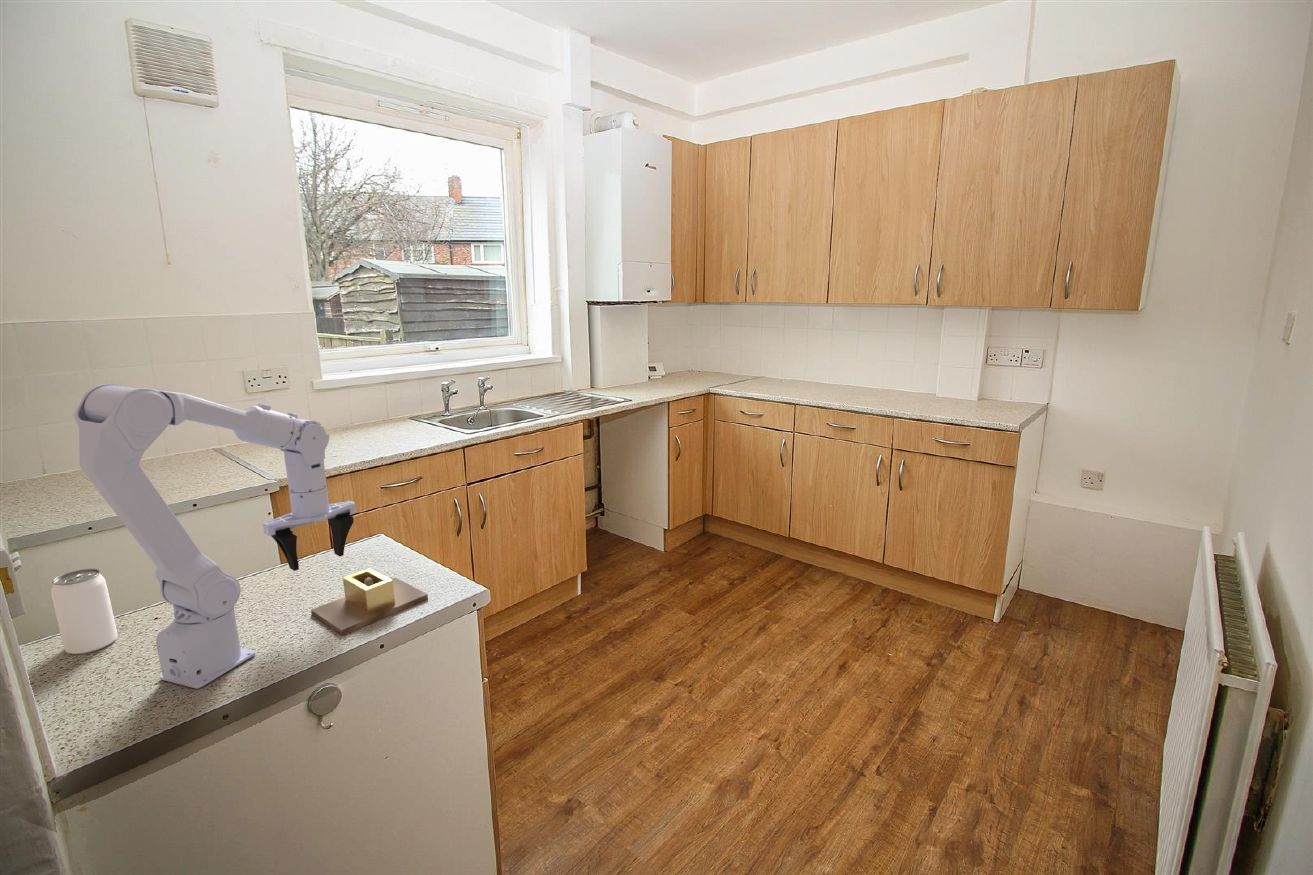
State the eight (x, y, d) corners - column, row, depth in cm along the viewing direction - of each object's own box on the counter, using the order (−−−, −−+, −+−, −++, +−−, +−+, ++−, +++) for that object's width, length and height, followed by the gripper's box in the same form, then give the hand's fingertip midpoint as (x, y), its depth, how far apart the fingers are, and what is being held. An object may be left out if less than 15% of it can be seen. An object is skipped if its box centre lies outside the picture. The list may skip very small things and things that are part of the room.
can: (128, 634, 104) (114, 568, 102) (90, 657, 98) (74, 586, 95) (93, 632, 105) (78, 566, 102) (53, 654, 99) (36, 584, 96)
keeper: (342, 635, 104) (338, 604, 103) (311, 614, 111) (307, 585, 109) (428, 599, 117) (425, 570, 115) (395, 582, 123) (393, 555, 122)
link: (394, 602, 113) (392, 580, 112) (368, 614, 109) (365, 590, 108) (372, 590, 118) (369, 568, 117) (345, 600, 114) (342, 577, 113)
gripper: (271, 503, 100) (282, 582, 103) (361, 482, 111) (368, 554, 114) (253, 494, 104) (265, 570, 107) (342, 475, 115) (349, 544, 118)
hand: (317, 561), depth 111 cm, fingers open, 7 cm apart
